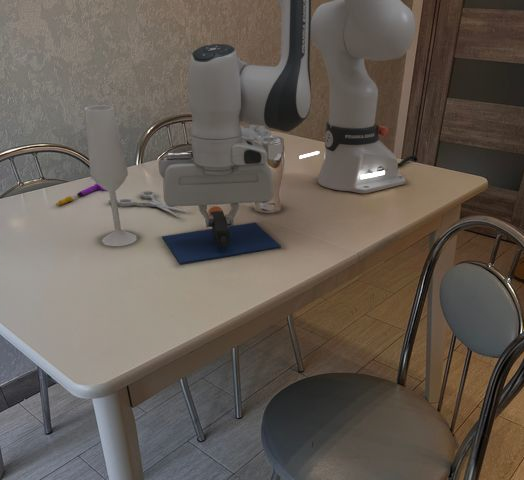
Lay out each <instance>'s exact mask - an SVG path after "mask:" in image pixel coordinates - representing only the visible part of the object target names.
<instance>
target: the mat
mask: <svg viewBox="0 0 524 480" xmlns="http://www.w3.org/2000/svg"><path fill="white" fill-rule="evenodd" d="M228 228H229V242H230V245H228V246H217V245H216V241H215V237H214V234H213V230H212V228H210V229H202V230H196V231H189V232H188V231H187V232H182V233H175V234H169V235H162V236H161V238H162V240H163V241H164V243H165V244H166V246H167V247H168V249H169V250H170V252H171V253H172V255H173V256H174V258H175V260H176V261H177V262H178V264H179V265H186V264H193V263H199V262H204V261H210V260H211V261H212V260H217V259H223V258H227V257H228V258H229V257H234V256H240V255H246V254H252V253H258V252H263V251H264V252H265V251H270V250H271V251H272V250H275V249H282V245H281V244H279V243H278V241H277V240H275V239H274V238H273V237H272V236H271V235H270V234H269V233H267V231H266V230H265V229H263V228H262V227H261V226H260V225H259V224H258V223H256V222H248V223H242V224H235V225H233V226H228Z"/></svg>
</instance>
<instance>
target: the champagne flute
mask: <svg viewBox="0 0 524 480" xmlns="http://www.w3.org/2000/svg"><path fill="white" fill-rule="evenodd" d="M84 114H85V115H84V116H85V127H86V139H87V151H88V152H87V153H88V163H89V175H90V177H91V179H92V180H93V182H95V184H98V185H100V186H101V187H102V188H104V189H105V190H104V191H108V195H109V200H110V202H111V204H110V208H111V215H112V221H113V226H114V230H113V231H112V232H110V233H108V234H107V235H105V236H104V237H103V238H102V239H101V242H102V244H104V245H105V246H109V247H123V246H127V245H131V244H134V243H135V242H136V241H137V236H136V235H135V234H133V233H131V232H128V231H125V230H124V229H122V226H121V221H120V220H121V219H120V213H119V207H118V206H119V205H118V204H117V200H118V199H117V193H116V191H117V190H118V189H119V188H120V187H121V186H122V185H123V184H124V183H125V181H126V179H127V177H128V174H129V170H128V166H127V161H126V158H125V157H126V156H125V154H124V153H125V152H124V149H123V144H122V139H121V135H120V132H119V127H118V121H117V118H116V113H115V109H114V107H113V106H112V105H101V104H99V105H91V106H87V107H85V108H84Z"/></svg>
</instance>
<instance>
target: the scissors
mask: <svg viewBox="0 0 524 480" xmlns="http://www.w3.org/2000/svg"><path fill="white" fill-rule="evenodd" d="M140 196H141V198H142V199H149V200H151V201H135V200H133V199H132V198H120V199H117V206H120V207H131V206H138V207H140V206H141V207H142V206H147V207H154V208H155V207H157V208H158V209H160V210H163V211H165V212H167V213H169V214H171V215H174V216H175V217H179V218H181V216H180V215H179V214H177V213H175V211H172V210H170V209H173V210H181V211H185V212H190V210H189V209H186V208H181V207H178V206H177V207H169V206H168V205H167V204H165V203H164V204H163V203H162V202H160V201H158V200H156V195H155V192H154V191H152V190H144V191H142V192H141V193H140ZM108 204H110V205H111V202H110V199H109V200H108Z"/></svg>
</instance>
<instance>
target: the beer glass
mask: <svg viewBox="0 0 524 480" xmlns="http://www.w3.org/2000/svg"><path fill="white" fill-rule="evenodd" d="M253 142H256V143H259V144H261V145H262V146H263V147H264V148H265V150H266V152H267V162H266V163H267V165H268V166H269V168H270V170H271V174H272V181H273V197H272V198H271V200H270V201H269V202H254V203H253V209H254V211H255V212H257V213H260V214H275V213H278V212H280V211H281V210H282V204H281V198H280V197H281V196H280V193H281V186H282V181H283V176H284V168H285V138H284V137H282V136H278V135H271V136H270V135H265V136H257V137H254V138H253Z"/></svg>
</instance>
